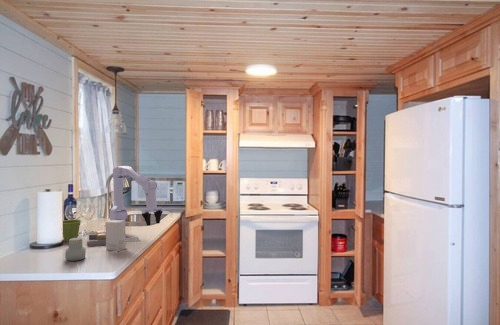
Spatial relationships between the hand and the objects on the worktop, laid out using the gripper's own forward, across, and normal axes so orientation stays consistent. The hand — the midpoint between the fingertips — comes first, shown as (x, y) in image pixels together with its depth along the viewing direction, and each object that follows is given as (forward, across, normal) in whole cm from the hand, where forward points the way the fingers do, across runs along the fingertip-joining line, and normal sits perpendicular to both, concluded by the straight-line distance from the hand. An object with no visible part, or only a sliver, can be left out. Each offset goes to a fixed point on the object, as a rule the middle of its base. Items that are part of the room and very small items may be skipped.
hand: (153, 224), depth 215 cm
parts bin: (+7, -17, +26) cm, 31 cm away
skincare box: (+10, -23, +6) cm, 26 cm away
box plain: (+6, -14, +29) cm, 33 cm away
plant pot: (+4, -23, +45) cm, 51 cm away
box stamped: (+7, -19, +22) cm, 30 cm away
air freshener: (+10, -46, +8) cm, 47 cm away
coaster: (+8, -4, +16) cm, 19 cm away
